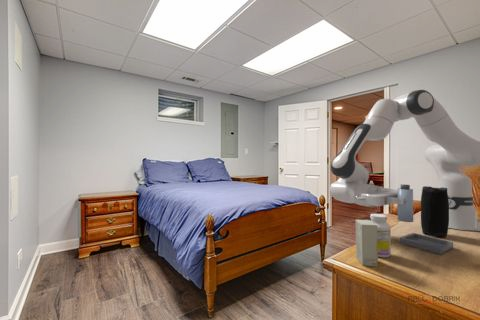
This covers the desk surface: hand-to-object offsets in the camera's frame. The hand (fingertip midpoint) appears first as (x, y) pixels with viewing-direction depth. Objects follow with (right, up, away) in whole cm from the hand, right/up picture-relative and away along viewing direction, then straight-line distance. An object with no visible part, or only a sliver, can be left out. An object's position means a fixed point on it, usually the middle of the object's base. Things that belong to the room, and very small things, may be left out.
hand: (408, 200), depth 77 cm
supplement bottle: (-13, -17, -4) cm, 22 cm away
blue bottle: (0, -7, +1) cm, 7 cm away
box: (+9, -17, +3) cm, 19 cm away
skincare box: (-20, -17, -9) cm, 28 cm away
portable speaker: (+22, -17, +15) cm, 31 cm away
